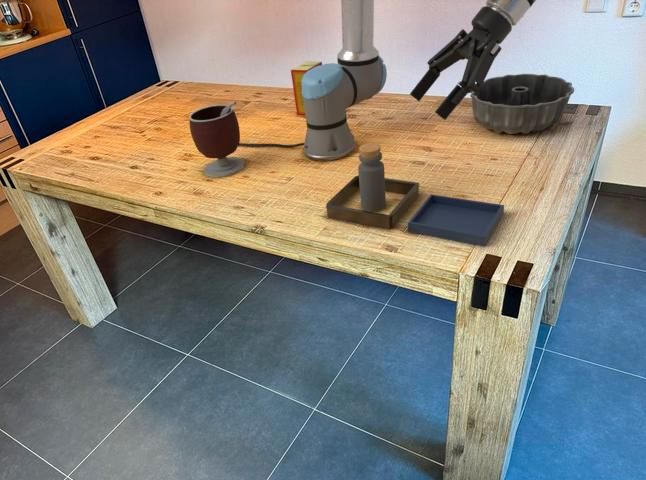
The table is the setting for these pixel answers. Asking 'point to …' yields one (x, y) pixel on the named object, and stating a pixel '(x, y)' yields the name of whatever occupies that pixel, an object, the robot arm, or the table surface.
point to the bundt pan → (521, 102)
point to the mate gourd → (217, 138)
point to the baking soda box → (297, 83)
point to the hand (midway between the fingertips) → (426, 106)
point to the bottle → (371, 178)
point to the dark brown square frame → (369, 217)
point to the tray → (456, 219)
